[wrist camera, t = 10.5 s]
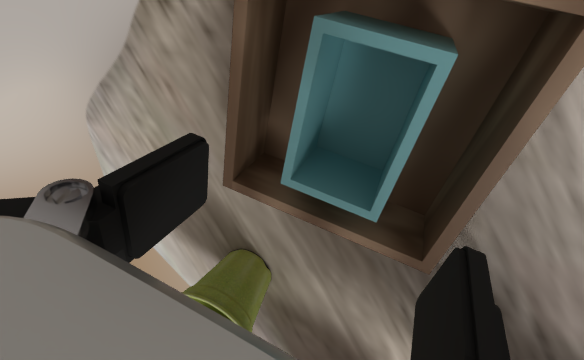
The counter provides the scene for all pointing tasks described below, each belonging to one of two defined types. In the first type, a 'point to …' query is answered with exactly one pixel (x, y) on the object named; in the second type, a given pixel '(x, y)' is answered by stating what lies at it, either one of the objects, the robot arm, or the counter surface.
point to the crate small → (362, 108)
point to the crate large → (438, 127)
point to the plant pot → (234, 287)
